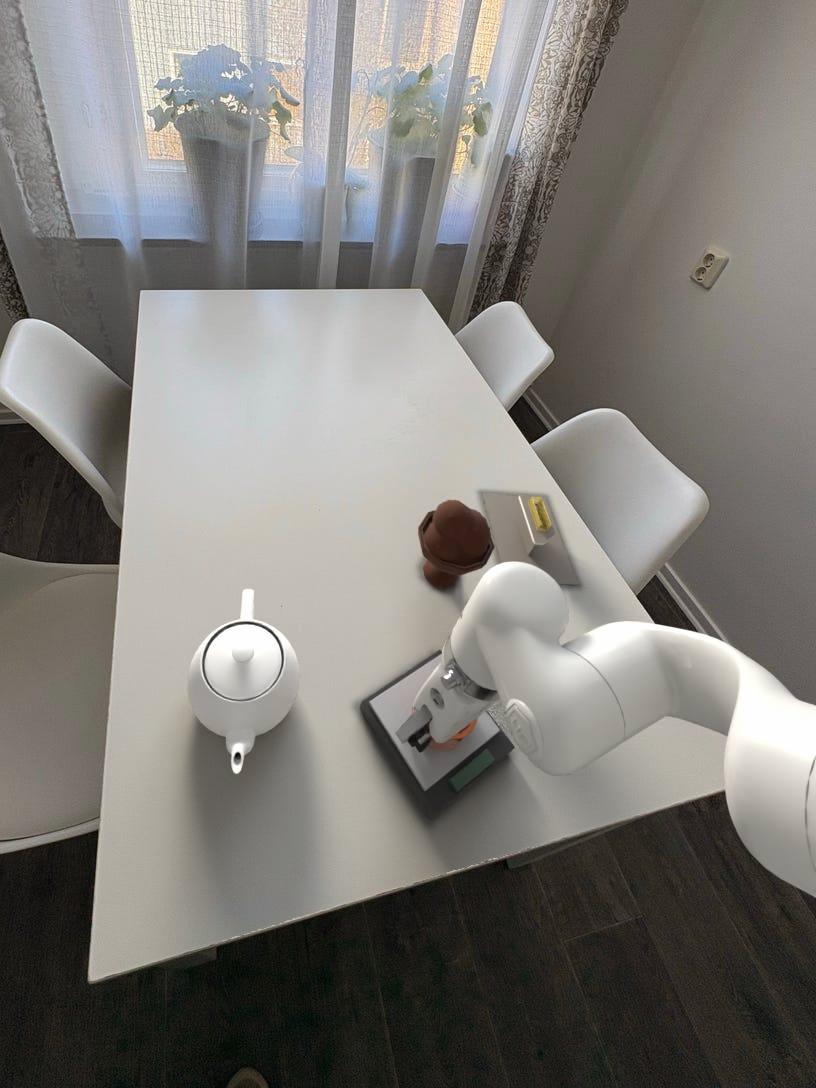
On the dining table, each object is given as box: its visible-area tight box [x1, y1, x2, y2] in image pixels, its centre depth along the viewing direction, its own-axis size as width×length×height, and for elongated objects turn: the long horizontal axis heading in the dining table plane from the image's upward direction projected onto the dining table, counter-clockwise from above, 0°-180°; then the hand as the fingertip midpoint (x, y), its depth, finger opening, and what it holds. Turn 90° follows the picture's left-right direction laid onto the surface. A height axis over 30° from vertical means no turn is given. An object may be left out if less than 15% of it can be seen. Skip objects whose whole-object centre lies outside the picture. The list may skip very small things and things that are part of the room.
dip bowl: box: [412, 707, 478, 751], centre depth 63 cm, size 7×7×5 cm
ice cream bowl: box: [417, 499, 495, 589], centre depth 78 cm, size 11×11×15 cm
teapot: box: [186, 588, 301, 775], centre depth 63 cm, size 22×14×11 cm, turn 4°
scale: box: [359, 649, 516, 820], centre depth 65 cm, size 14×13×3 cm
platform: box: [482, 492, 579, 586], centre depth 88 cm, size 12×18×7 cm, turn 1°
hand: (440, 719), depth 64 cm, fingers open, 7 cm apart
